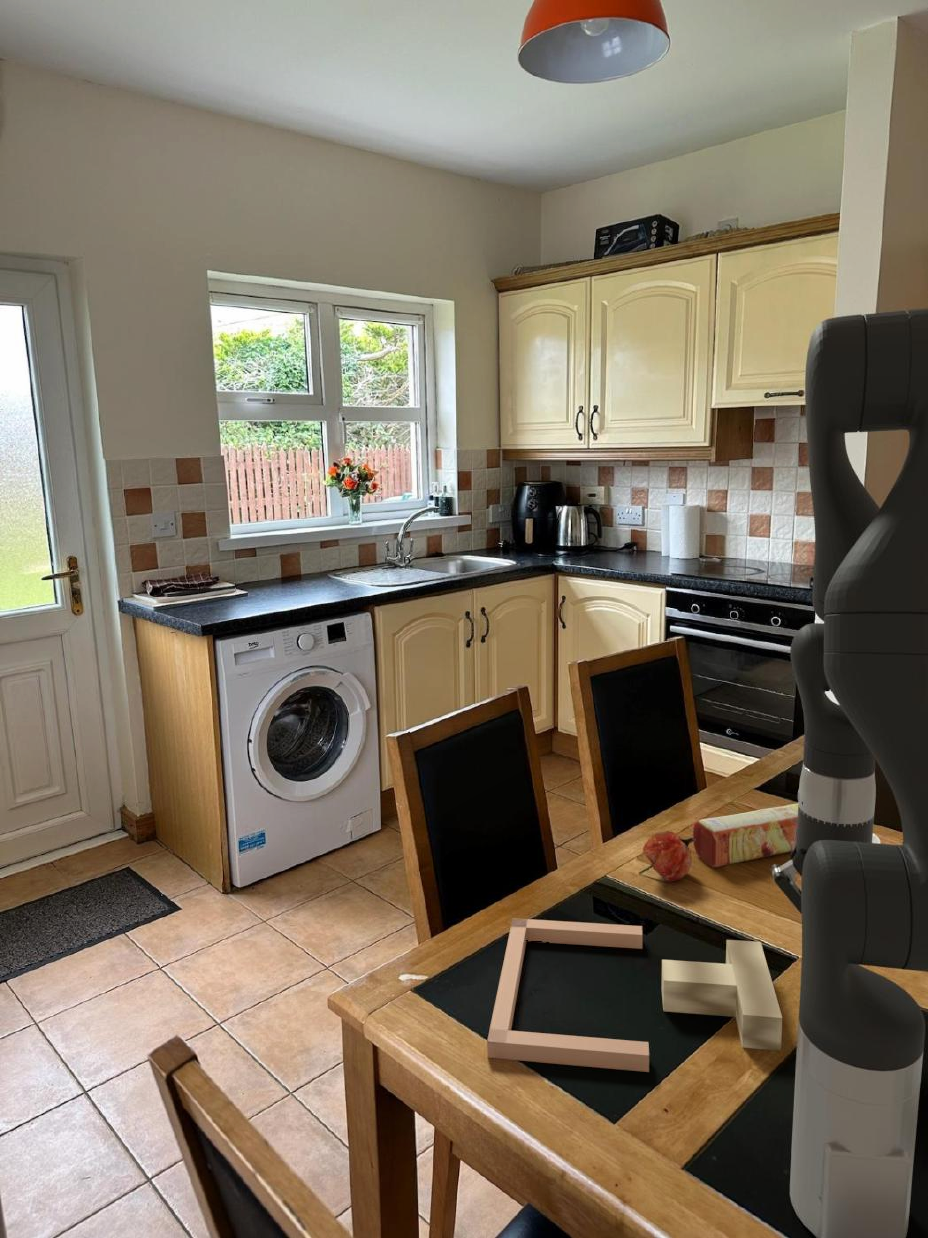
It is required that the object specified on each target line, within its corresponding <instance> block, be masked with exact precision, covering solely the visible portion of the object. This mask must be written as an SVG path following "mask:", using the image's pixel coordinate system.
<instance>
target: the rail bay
mask: <svg viewBox="0 0 928 1238" xmlns="http://www.w3.org/2000/svg"><path fill="white" fill-rule="evenodd" d="M526 940H528V941H526ZM531 941H542V942H541V943H546V942H549V944H562V945H563V944H564V945H565V944H566V945H576V946H577V945H578V946H579V945H581V946H595V947H611V948H626V949H639V950H640V949H641V950H642V949H643V925H631V924H630V925H629V924H628V925H627V924H614V923H613V924H611V923H598V922H581V921H563V920H549V919H548V920H547V919H532V918H531V919H529V918H516V917H515V918H514V917H512V919H511V924H510V930H509V934H508V939H507V943H506V944H507V945H506V949H505V953H504V960H503V964H502V969H501V972H500V977H499V981H498V988H497V992H496V997H495V1002H494V1007H493V1012H492V1014H491V1015H492V1016H491V1017H492V1018H491V1020H490V1026H489V1031H488V1036H487V1040H486V1043H487V1046H486V1047H487V1058H489V1059H498V1060H499V1059H501V1060H508V1061H509V1060H511V1061H520V1062H521V1061H523V1062H535V1063H542V1064H543V1063H544V1064H545V1063H546V1064H555V1065H556V1064H557V1065H567V1066H578V1067H589V1068H590V1067H591V1068H600V1069H610V1070H611V1069H612V1070H621V1071H623V1070H624V1071H632V1072H633V1071H634V1072H644V1073H645V1072H646V1073H650V1048H649V1047H650V1046H649V1041H641V1040H627V1039H626V1040H625V1039H614V1038H604V1037H603V1038H602V1037H592V1036H591V1037H590V1036H582V1035H581V1036H580V1035H579V1036H578V1035H568V1034H558V1033H557V1034H556V1033H545V1032H544V1033H542V1032H534V1031H533V1032H531V1031H521V1030H520V1031H519V1030H512V1027H513V1022H514V1014H515V1009H516V1003H517V999H518V992H519V986H520V980H521V976H522V968H523V962H524V957H525V951H526V946H527V942H531Z"/></svg>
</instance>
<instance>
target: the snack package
mask: <svg viewBox="0 0 928 1238" xmlns="http://www.w3.org/2000/svg"><path fill="white" fill-rule="evenodd" d="M797 820H798V802H797V803H792V804H787V805H783V806H774V807H769V808H761V809H757V810H752V811H747V812H742V813H735V814H730V815H723V816H716V817H708V818H702V819H698V820H696V821H695V823H694V825H693V830H692V838H694V839H696V840H695V841H693V847H694V849H695V853H696V854H697V856H698V857H699V858H700V859H701V860H702V861H703V862H704V863H706V864H707V865H708V866H710V867H711V868H720V867H724V866H727V865H732V864H736V863H741V862H742V863H743V862H748V861H752V860H755V859H761V858H766V857H771V856H775V855H780V854H786V853H789V852H790V853H792V851H793V850H794V849H795V846H796V839H797Z"/></svg>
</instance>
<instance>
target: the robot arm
mask: <svg viewBox="0 0 928 1238" xmlns="http://www.w3.org/2000/svg"><path fill="white" fill-rule="evenodd" d="M806 352H807V353H806V363H805V374H804V375H805V377H804V378H805V379H804V401H805V404H804V405H805V426H806V427H805V428H806V441H807V458H808V460H807V461H808V470H809V473H808V474H809V484H810V492H811V494H810V495H811V500H812V510H813V511H812V513H813V521H814V523H813V524H814V560H813V562H814V563H813V564H814V565H813V579H812V582H813V583H812V597H811V599H812V607H813V610H814V612H815V614H816V616H817V617H818V618H819V619H820V620H821V621H823V623H822V622H821V623H818V622H815V623H809V624H808V623H807V624H805V625H804V626H802V627H801V628H800V629H799V630H798V631H797V632H796V634H795V635H794V637H793V638H792V641H791V644H790V661H791V667H792V671H793V675H794V678H795V682H796V686H797V690H798V692H799V693H798V694H799V696H800V700H801V708H802V711H803V713H802V714H803V723H804V731H803V732H804V737H803V738H804V740H803V757H802V759H803V760H802V761H803V762H802V768H801V773H800V777H799V788H798V791H797V801H798V802H797V803H798V820H797V839H796V846H795V849H794V850H793V851H791V852H790V860H788V861H787V862H785V863H783V864H781V865H780V864H777V863H775V864H772V865H771V866H770V872H771V874H772V878H773V881H774V883H775V884H776V885H777V887H778V888H779V889H780V891H782V893H783V894H784V895H785V896H786V897H787V898H788V900H789V901H790V902H791V904H792V905H793V906H794V908H796V909H797V911H798V912H799V913H800V914H801V964H800V967H801V968H800V988H799V989H800V992H799V1005H798V1009H799V1010H798V1021H797V1041H796V1054H795V1055H796V1057H795V1058H796V1059H795V1073H794V1074H795V1077H794V1095H793V1097H794V1098H793V1112H792V1113H793V1114H792V1115H793V1116H792V1130H791V1131H792V1135H791V1149H790V1150H791V1152H790V1153H791V1154H790V1155H791V1157H790V1158H791V1159H790V1179H789V1180H790V1181H789V1196H790V1197H789V1198H790V1202H791V1205H792V1207H793V1209H794V1212H795V1214H796V1216H797V1217H798V1219H799V1220H800V1221H801V1223H802V1224H803V1225H804V1226H805V1228H807V1229H808V1230H809V1231H810V1233H812V1235H814V1236H815V1238H906V1237H907V1234H908V1228H909V1220H910V1219H909V1218H910V1217H909V1216H910V1207H911V1197H912V1195H911V1194H912V1182H913V1170H914V1160H915V1159H914V1158H915V1148H916V1138H917V1137H916V1136H917V1126H918V1125H917V1124H918V1115H919V1114H918V1113H919V1112H918V1111H919V1102H920V1101H919V1100H920V1091H921V1090H920V1089H921V1082H922V1071H923V1069H922V1068H923V1061H924V1060H923V1057H924V1048H925V1038H926V1022H925V1021H926V1020H925V1016H924V1014H923V1010H922V1009H921V1007H920V1005H919V1004H918V1002H917V1001H916V999H914V998H915V997H913V996H912V995H911V994H910V993H909V992H907V990H906V989H904V988H903V987H901V986H900V985H899V984H897V983H896V982H894V981H893V980H891V979H890V978H888V977H886V976H884V975H881V974H879V973H877V972H875V971H872V970H870V969H868V968H867V967H864V966H868V967H869V966H871V967H876V968H877V967H879V968H889V969H894V970H895V969H897V970H905V971H915V972H919V971H920V972H928V307H927V308H913V309H906V310H898V311H886V312H877V313H876V312H875V313H866V314H861V313H860V314H852V315H851V314H850V315H844V316H842V315H841V316H836V317H830V318H827V319H824V320H822V321H820V322H819V323H818V324H817V325H816V327H815V328H814V330H813V332H812V334H811V336H810V340H809V344H808V348H807V351H806ZM900 430H901V431H902V430H904V431H907V432H908V436H909V437H908V438H909V441H908V448H907V451H906V455H905V458H904V461H903V464H902V467H901V470H900V472H899V474H898V476H897V478H896V480H895V482H894V484H893V485H892V488H891V489H890V491H889V493H888V495H887V496H886V497H885V500H884V501H883V503H882V505H881V506H879V505H878V504H877V502H876V501H875V500H874V498H873V496H871V494H870V493H869V491H868V490H867V489H866V487H865V486H864V484H863V483H862V481H861V480H860V479H859V476H858V475H857V473H856V471H855V469H854V468H853V466H852V465H853V464H852V463H851V461H850V458H849V454H848V451H847V445H846V435H845V434H849V433H858V432H859V433H868V432H869V433H870V432H873V433H874V432H889V431H891V432H892V431H900ZM826 692H831V693H832V695H833V696H834V698H835V700H836V701H837V703H836V702H834V701H832V700H831V699H830V698H829V696H828V695H827V694H826ZM876 762H877V765H878V766H879V767H880V769H881V771H882V774H883V776H884V777H885V780H886V781H887V784H888V786H889V787H890V789H891V791H892V793H893V797H894V799H895V802H896V806H897V809H898V813H899V816H900V821H901V829H902V844H890V843H881V844H878V843H872V836H873V834H874V832H873V831H874V822H875V807H876V796H877V795H876V792H877V791H876V790H877V789H876V788H877V787H876V774H875V771H876ZM796 872H797V873H798V874H799V876H800V877H801V882H800V883H801V888H800V887H799V886H798V885H797V884H796V883H797V877H796Z"/></svg>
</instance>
